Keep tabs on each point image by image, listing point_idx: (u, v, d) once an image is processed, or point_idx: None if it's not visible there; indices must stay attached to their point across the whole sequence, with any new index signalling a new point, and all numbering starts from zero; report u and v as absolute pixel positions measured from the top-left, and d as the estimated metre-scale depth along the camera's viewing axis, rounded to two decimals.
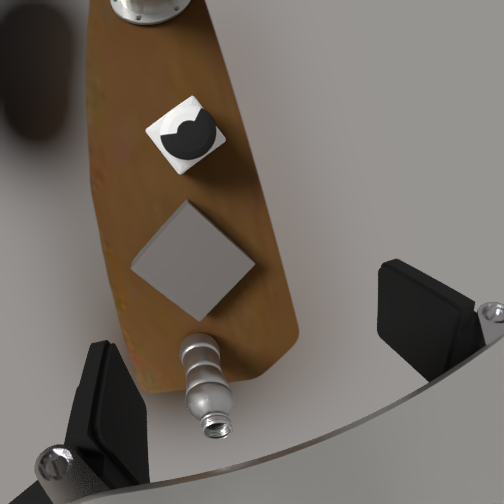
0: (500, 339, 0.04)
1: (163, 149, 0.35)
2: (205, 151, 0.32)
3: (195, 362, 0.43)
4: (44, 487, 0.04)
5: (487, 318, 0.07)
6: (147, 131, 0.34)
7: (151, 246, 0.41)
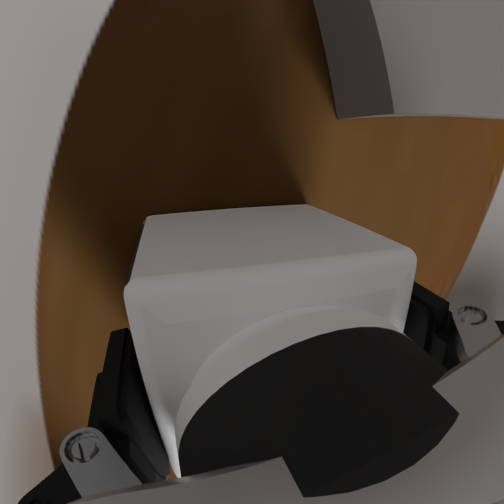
0: (500, 339, 0.04)
1: None
2: None
3: None
4: (71, 470, 0.04)
5: (463, 320, 0.07)
6: None
7: (499, 113, 0.11)
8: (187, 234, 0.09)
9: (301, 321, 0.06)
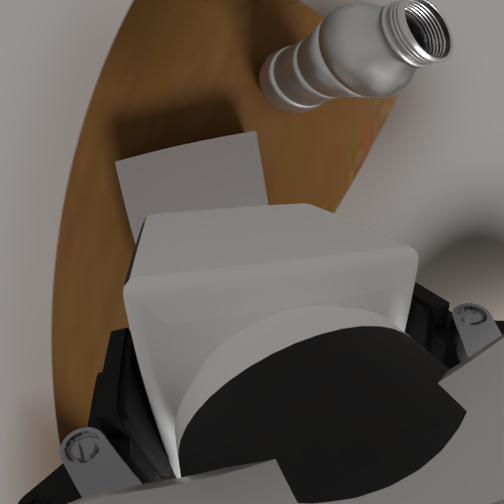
0: (500, 339, 0.04)
1: None
2: (424, 461, 0.03)
3: (317, 96, 0.22)
4: (71, 470, 0.04)
5: (463, 320, 0.07)
6: None
7: None
8: (187, 233, 0.09)
9: (302, 320, 0.05)
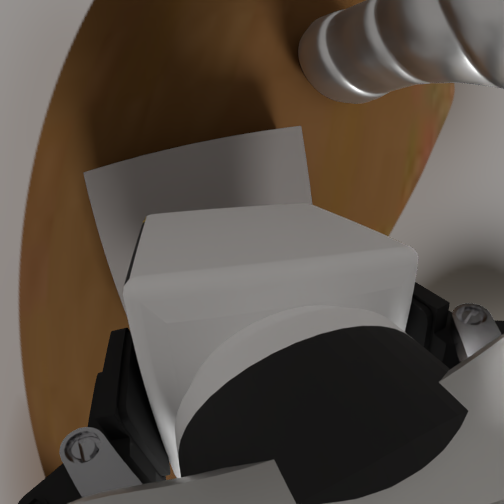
0: (500, 339, 0.04)
1: None
2: (424, 461, 0.03)
3: (400, 78, 0.13)
4: (71, 470, 0.04)
5: (463, 320, 0.07)
6: None
7: None
8: (187, 233, 0.09)
9: (302, 319, 0.05)
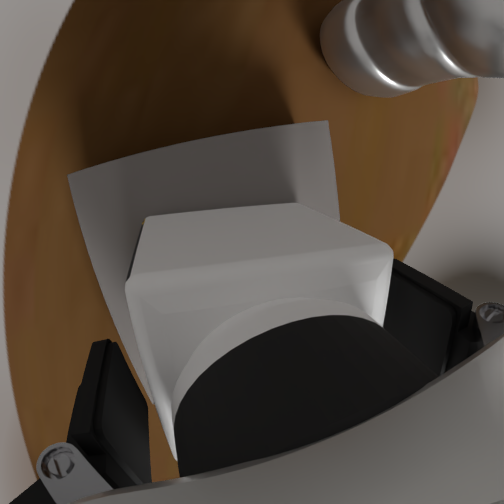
0: (500, 339, 0.04)
1: None
2: None
3: (444, 69, 0.10)
4: (46, 485, 0.04)
5: (485, 318, 0.07)
6: None
7: None
8: (182, 234, 0.10)
9: (278, 309, 0.06)
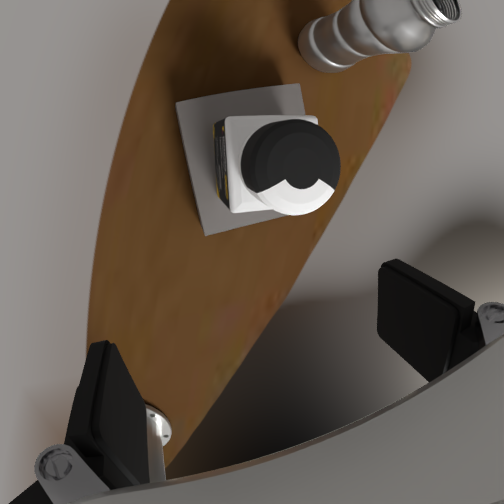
0: (500, 339, 0.04)
1: None
2: (294, 122, 0.18)
3: (353, 54, 0.24)
4: (44, 487, 0.04)
5: (487, 318, 0.07)
6: None
7: (279, 215, 0.32)
8: None
9: None
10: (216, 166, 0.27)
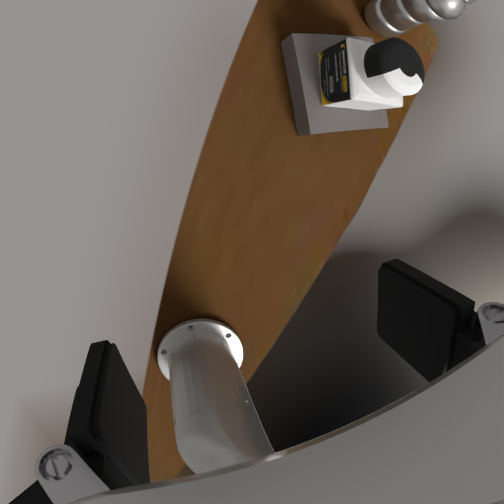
0: (500, 339, 0.04)
1: None
2: (400, 39, 0.23)
3: (410, 21, 0.29)
4: (44, 487, 0.04)
5: (487, 318, 0.07)
6: (402, 104, 0.29)
7: (362, 127, 0.36)
8: None
9: None
10: (323, 80, 0.32)
